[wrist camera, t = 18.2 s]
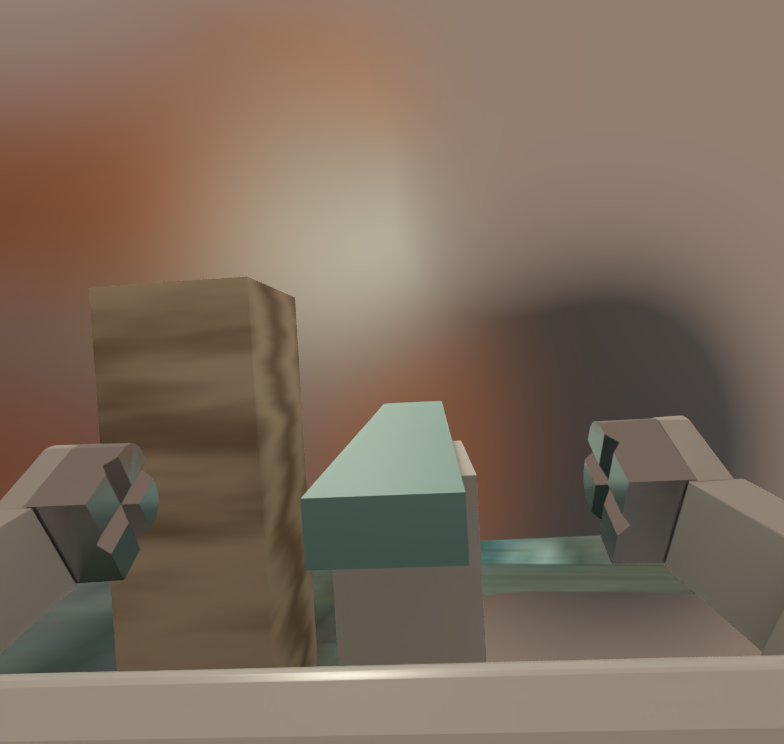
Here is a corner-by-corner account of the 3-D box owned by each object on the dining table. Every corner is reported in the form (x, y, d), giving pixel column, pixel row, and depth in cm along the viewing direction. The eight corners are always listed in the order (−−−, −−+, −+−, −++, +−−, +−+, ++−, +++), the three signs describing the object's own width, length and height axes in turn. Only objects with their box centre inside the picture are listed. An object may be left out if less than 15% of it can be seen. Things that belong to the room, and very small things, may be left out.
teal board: (469, 565, 15) (465, 492, 15) (305, 570, 15) (300, 498, 15) (442, 426, 43) (441, 400, 43) (385, 429, 43) (384, 403, 43)
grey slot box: (493, 810, 26) (476, 475, 25) (347, 811, 26) (327, 481, 26) (473, 682, 36) (460, 440, 35) (367, 685, 36) (353, 445, 36)
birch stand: (280, 795, 27) (247, 276, 27) (126, 797, 28) (88, 287, 27) (318, 677, 37) (294, 297, 37) (204, 680, 38) (178, 305, 37)
